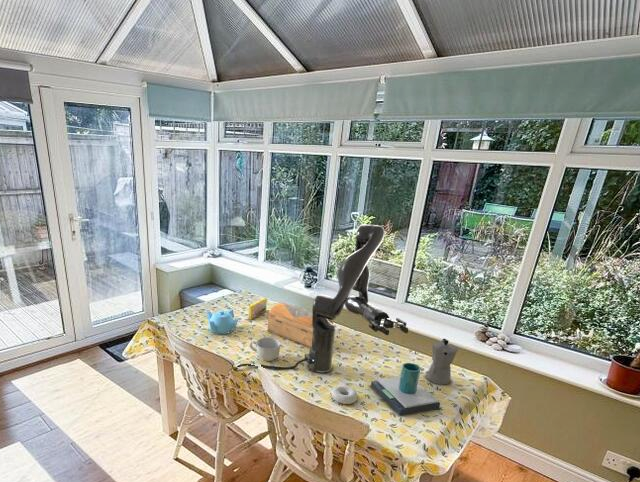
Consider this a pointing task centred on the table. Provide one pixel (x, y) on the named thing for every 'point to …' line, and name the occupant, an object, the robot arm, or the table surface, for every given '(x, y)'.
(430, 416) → the table surface
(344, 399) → the donut
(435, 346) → the coffeepot
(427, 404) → the scale
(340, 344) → the table surface
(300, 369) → the table surface
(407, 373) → the canister
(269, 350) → the teacup
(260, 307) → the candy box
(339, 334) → the table surface
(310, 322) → the wooden box
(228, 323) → the teapot
